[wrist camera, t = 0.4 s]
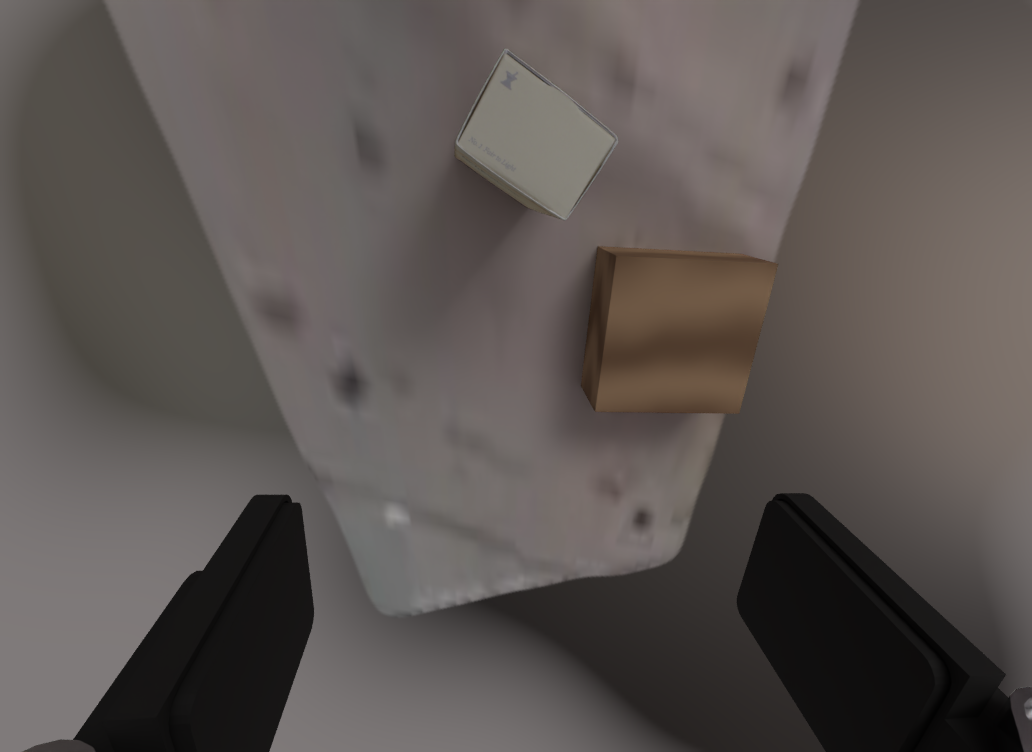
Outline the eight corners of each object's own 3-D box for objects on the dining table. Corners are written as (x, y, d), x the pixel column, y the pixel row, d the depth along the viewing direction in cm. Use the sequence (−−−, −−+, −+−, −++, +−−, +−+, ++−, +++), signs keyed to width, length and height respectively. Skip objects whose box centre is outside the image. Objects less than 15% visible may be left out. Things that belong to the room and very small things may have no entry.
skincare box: (452, 156, 32) (445, 143, 20) (488, 92, 30) (501, 40, 19) (531, 211, 33) (564, 226, 22) (568, 152, 32) (622, 137, 21)
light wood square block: (596, 245, 35) (616, 255, 30) (738, 253, 36) (778, 264, 32) (579, 384, 39) (595, 411, 35) (707, 386, 40) (739, 413, 36)
